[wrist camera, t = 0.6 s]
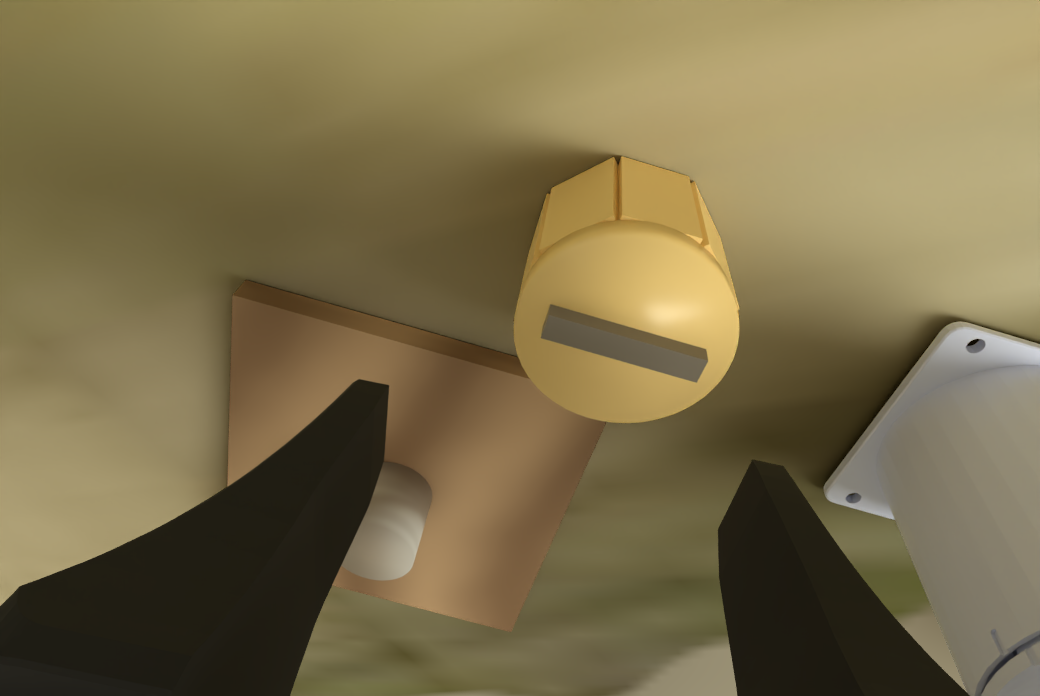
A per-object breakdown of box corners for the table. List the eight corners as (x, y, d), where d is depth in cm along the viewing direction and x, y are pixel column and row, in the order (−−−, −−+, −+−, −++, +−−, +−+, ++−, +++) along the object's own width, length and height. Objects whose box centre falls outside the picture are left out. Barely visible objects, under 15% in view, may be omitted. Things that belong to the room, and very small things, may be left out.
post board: (614, 384, 24) (614, 466, 21) (513, 612, 32) (501, 697, 29) (245, 279, 24) (186, 347, 20) (235, 539, 32) (191, 617, 28)
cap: (748, 192, 20) (784, 287, 16) (674, 344, 23) (686, 458, 19) (562, 136, 20) (546, 216, 15) (513, 297, 23) (488, 401, 18)
